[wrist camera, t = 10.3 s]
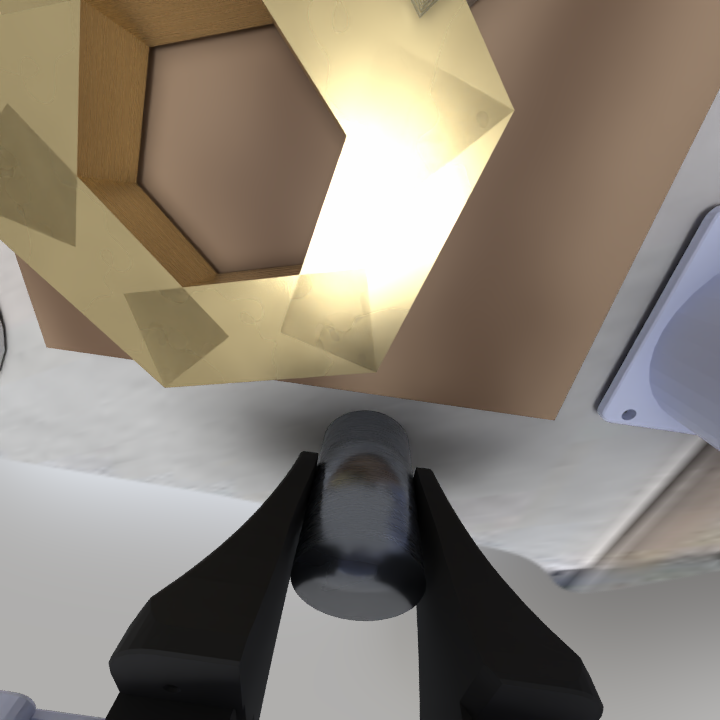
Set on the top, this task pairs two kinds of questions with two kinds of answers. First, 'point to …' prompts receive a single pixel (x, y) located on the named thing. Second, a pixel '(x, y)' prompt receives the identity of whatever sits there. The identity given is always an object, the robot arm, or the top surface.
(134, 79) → the handled hexagon ring
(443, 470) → the top surface
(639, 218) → the mount board
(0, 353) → the mechanical component
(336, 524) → the steel pin
